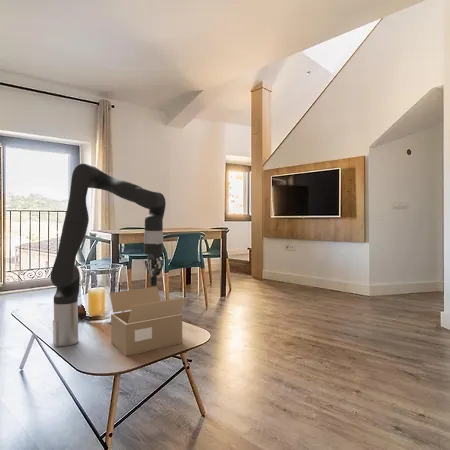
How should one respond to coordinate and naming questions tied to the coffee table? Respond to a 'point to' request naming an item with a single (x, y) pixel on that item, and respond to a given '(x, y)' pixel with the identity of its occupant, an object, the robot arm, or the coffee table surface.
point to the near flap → (156, 310)
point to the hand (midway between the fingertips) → (153, 285)
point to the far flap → (133, 298)
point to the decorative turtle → (81, 312)
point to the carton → (144, 333)
